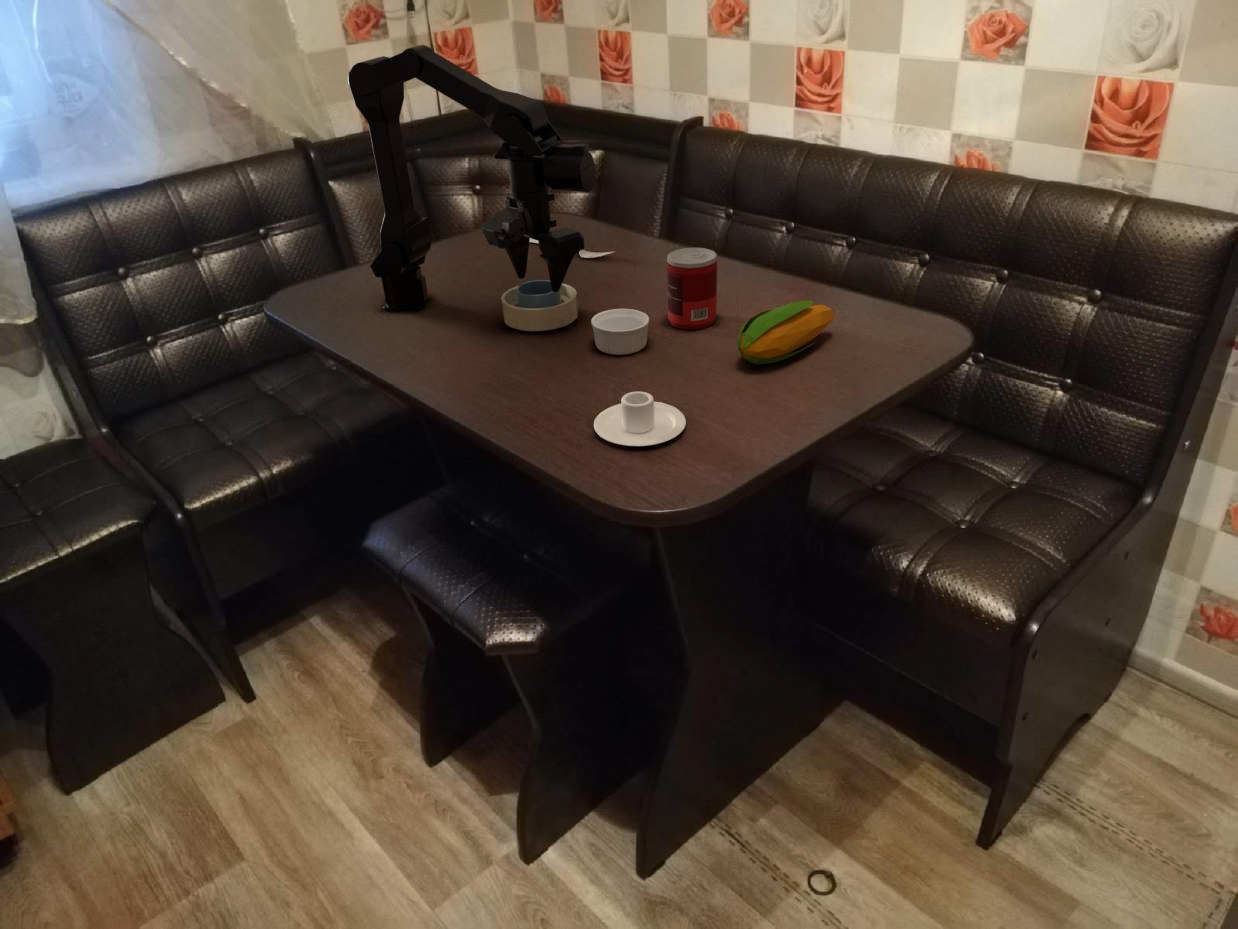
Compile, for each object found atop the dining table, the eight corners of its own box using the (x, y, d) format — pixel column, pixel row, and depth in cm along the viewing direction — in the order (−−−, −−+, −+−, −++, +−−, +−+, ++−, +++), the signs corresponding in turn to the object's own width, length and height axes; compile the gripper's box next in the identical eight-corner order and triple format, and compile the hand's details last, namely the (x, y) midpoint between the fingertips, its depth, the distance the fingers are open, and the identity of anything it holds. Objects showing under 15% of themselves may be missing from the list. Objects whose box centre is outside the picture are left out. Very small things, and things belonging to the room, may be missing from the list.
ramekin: (621, 328, 148) (620, 303, 146) (661, 343, 143) (661, 317, 140) (580, 346, 143) (579, 320, 141) (621, 362, 138) (619, 335, 135)
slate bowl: (516, 325, 150) (513, 296, 148) (522, 308, 156) (519, 280, 154) (559, 324, 150) (557, 295, 147) (564, 307, 156) (562, 279, 153)
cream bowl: (498, 334, 149) (495, 310, 146) (510, 305, 159) (508, 282, 157) (574, 333, 148) (572, 308, 145) (581, 304, 158) (580, 280, 156)
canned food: (724, 316, 151) (725, 250, 145) (701, 334, 145) (701, 266, 139) (683, 308, 154) (682, 244, 149) (659, 325, 149) (657, 259, 143)
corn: (724, 315, 131) (814, 278, 142) (721, 362, 135) (808, 323, 146) (763, 333, 127) (853, 293, 137) (758, 381, 131) (846, 339, 142)
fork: (530, 237, 191) (529, 228, 190) (616, 259, 177) (616, 250, 176) (518, 241, 189) (517, 232, 188) (605, 264, 175) (604, 255, 174)
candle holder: (675, 401, 126) (674, 372, 124) (695, 444, 116) (695, 414, 114) (588, 411, 125) (586, 382, 123) (601, 456, 115) (599, 425, 112)
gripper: (451, 188, 144) (465, 284, 152) (523, 211, 131) (533, 313, 140) (510, 174, 150) (520, 266, 158) (583, 194, 137) (589, 293, 146)
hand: (538, 284), depth 150 cm, fingers open, 9 cm apart
